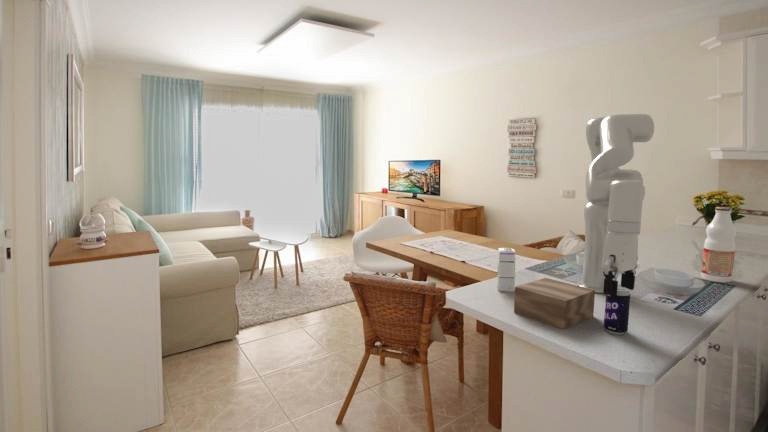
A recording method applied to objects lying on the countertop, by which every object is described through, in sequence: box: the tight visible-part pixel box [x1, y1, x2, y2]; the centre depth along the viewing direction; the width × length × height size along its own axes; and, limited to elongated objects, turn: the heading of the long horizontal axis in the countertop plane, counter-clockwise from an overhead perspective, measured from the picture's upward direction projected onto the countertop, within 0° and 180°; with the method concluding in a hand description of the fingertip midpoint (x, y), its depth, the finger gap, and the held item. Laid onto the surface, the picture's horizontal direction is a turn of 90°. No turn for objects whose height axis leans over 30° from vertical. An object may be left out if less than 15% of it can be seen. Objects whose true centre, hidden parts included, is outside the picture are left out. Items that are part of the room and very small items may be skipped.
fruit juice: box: [700, 206, 738, 284], centre depth 160 cm, size 9×9×28 cm
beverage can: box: [603, 285, 632, 336], centre depth 112 cm, size 6×6×12 cm
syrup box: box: [496, 247, 516, 293], centre depth 149 cm, size 6×6×14 cm
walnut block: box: [513, 277, 596, 330], centre depth 125 cm, size 16×16×8 cm
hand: (618, 291), depth 111 cm, fingers open, 9 cm apart
